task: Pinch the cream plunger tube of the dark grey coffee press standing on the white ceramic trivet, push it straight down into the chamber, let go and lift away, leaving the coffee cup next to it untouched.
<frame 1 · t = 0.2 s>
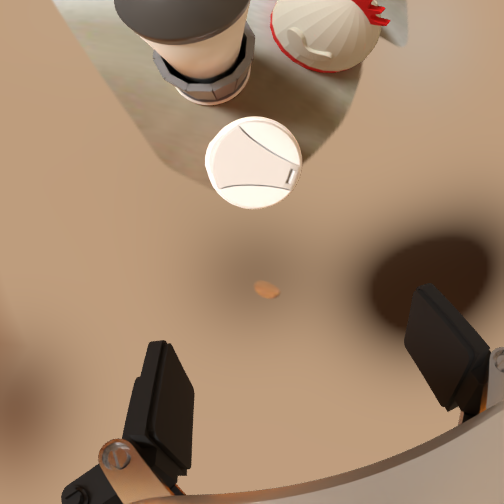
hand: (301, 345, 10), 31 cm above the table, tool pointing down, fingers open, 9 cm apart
coffee cup: (244, 148, 37), on the table
plunger: (198, 30, 16), point 17 cm above the table, slide at 0.0 cm
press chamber: (210, 69, 31), on the table
kitchen timer: (320, 28, 30), on the table
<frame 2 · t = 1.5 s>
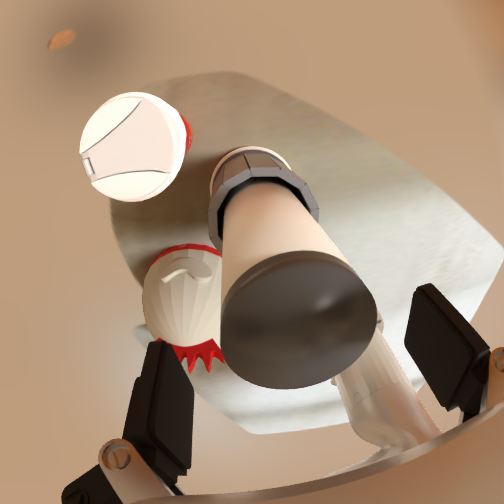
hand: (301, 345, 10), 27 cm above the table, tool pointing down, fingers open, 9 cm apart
coffee cup: (168, 136, 31), on the table
plunger: (272, 247, 19), point 17 cm above the table, slide at 0.0 cm
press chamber: (252, 187, 34), on the table
kitchen timer: (194, 288, 40), on the table
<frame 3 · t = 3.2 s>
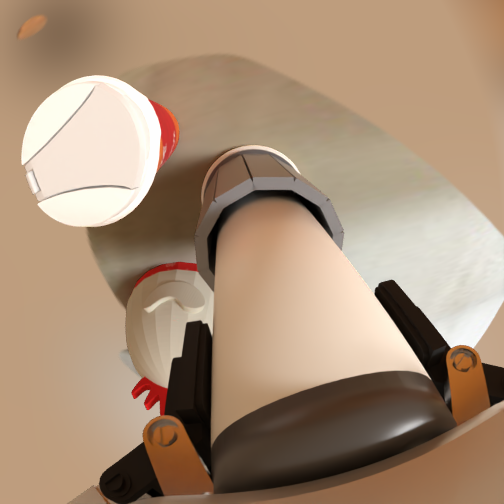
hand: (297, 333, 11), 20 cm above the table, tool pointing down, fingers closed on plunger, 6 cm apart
coffee cup: (150, 134, 25), on the table
plunger: (286, 297, 13), point 17 cm above the table, slide at 0.0 cm, touching gripper
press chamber: (253, 195, 28), on the table
kitchen timer: (186, 311, 34), on the table
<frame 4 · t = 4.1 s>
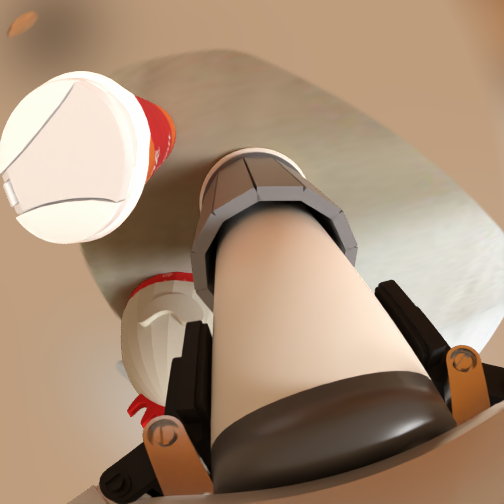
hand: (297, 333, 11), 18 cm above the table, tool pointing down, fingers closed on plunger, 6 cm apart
coffee cup: (144, 135, 23), on the table
plunger: (286, 297, 13), point 15 cm above the table, slide at 2.1 cm, touching gripper
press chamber: (255, 201, 26), on the table
kitchen timer: (184, 322, 32), on the table
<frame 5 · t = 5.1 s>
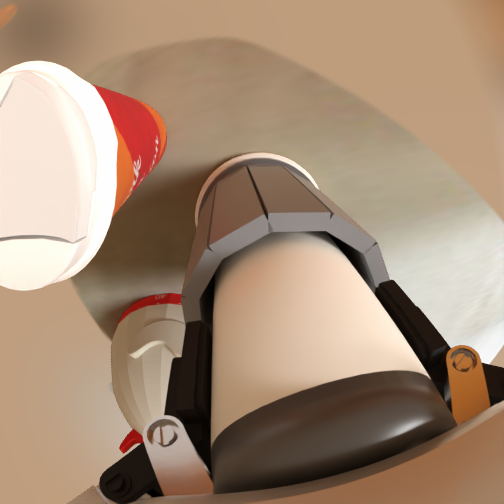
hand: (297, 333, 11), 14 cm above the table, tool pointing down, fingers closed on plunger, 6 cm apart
coffee cup: (131, 138, 20), on the table
plunger: (286, 297, 13), point 11 cm above the table, slide at 6.0 cm, touching gripper
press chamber: (259, 215, 23), on the table
kitchen timer: (180, 346, 29), on the table
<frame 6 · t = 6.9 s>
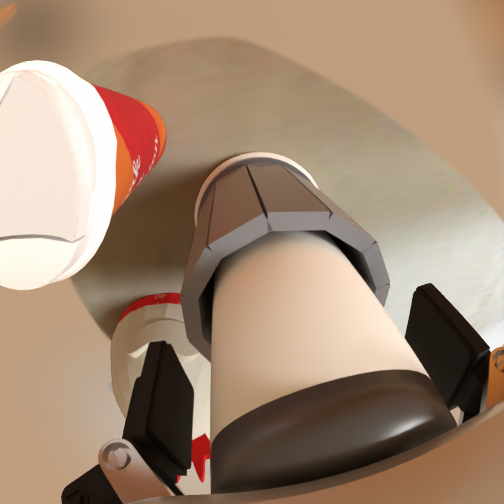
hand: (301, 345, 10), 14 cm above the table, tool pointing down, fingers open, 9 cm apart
coffee cup: (130, 138, 20), on the table
plunger: (285, 296, 13), point 11 cm above the table, slide at 6.0 cm
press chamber: (259, 214, 23), on the table
kitchen timer: (180, 345, 29), on the table
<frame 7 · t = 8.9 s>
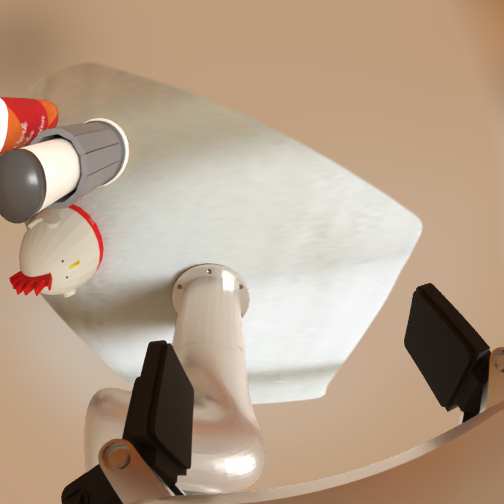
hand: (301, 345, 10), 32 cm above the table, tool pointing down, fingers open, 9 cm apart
coffee cup: (44, 118, 32), on the table
plunger: (58, 167, 25), point 11 cm above the table, slide at 6.0 cm
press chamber: (98, 152, 35), on the table
kitchen timer: (68, 241, 41), on the table
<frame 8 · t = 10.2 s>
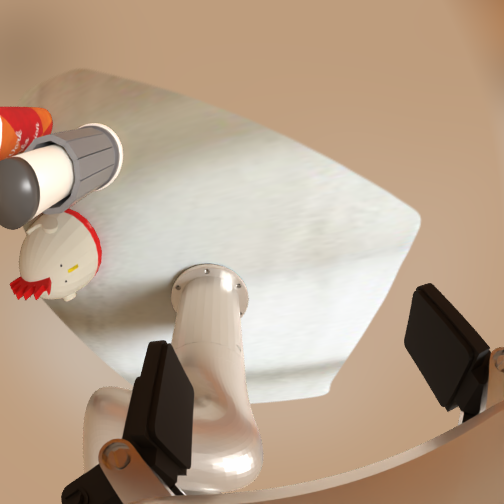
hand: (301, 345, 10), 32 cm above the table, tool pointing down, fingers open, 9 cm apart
coffee cup: (39, 126, 32), on the table
plunger: (53, 173, 26), point 11 cm above the table, slide at 6.0 cm
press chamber: (92, 156, 36), on the table
kitchen timer: (67, 246, 41), on the table
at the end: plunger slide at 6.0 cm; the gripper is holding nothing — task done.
